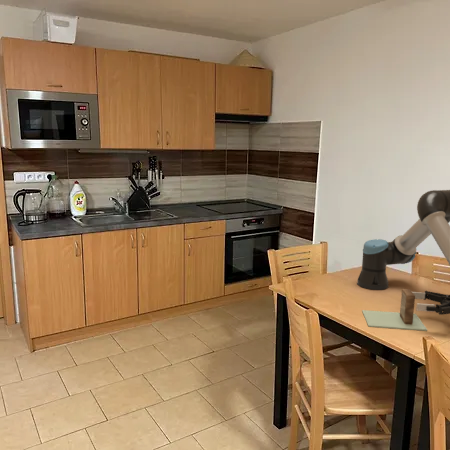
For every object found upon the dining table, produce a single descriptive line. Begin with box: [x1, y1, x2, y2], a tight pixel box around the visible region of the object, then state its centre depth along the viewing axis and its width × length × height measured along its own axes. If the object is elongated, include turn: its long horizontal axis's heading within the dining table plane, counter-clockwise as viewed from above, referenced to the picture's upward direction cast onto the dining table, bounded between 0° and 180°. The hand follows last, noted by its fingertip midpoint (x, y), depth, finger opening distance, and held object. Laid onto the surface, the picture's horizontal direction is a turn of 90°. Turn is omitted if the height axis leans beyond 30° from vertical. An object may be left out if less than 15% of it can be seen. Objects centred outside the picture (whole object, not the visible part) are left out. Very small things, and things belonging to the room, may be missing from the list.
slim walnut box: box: [399, 288, 416, 324], centre depth 172 cm, size 3×8×12 cm, turn 171°
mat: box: [361, 309, 428, 332], centre depth 174 cm, size 22×16×1 cm
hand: (412, 300), depth 171 cm, fingers open, 13 cm apart
